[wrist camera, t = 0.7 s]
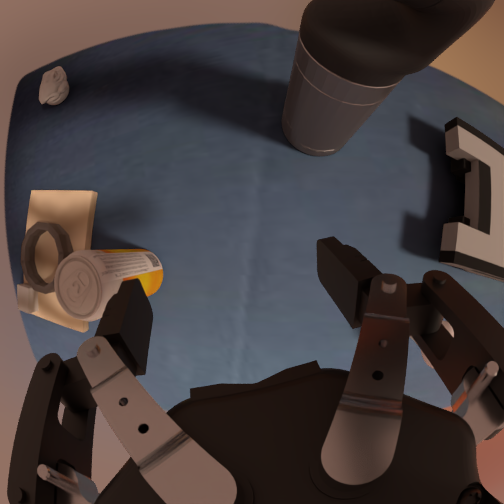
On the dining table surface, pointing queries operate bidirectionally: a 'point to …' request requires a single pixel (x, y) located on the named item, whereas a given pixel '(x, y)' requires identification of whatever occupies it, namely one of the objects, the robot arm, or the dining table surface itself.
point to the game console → (476, 203)
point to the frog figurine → (54, 87)
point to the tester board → (53, 249)
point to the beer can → (102, 278)
